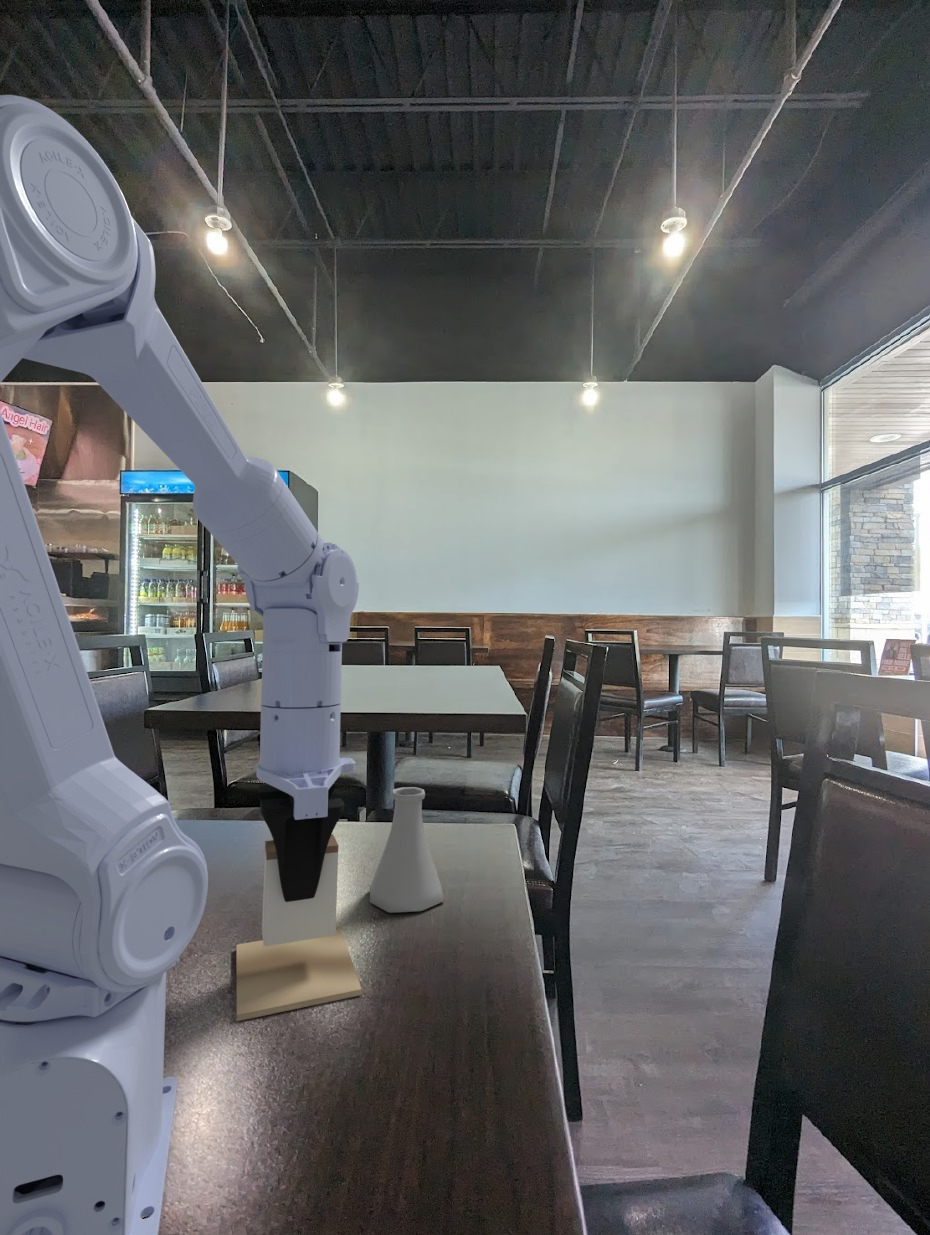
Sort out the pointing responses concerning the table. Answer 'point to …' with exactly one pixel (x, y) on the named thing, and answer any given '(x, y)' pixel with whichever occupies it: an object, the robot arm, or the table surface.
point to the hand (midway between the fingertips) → (297, 889)
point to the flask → (406, 860)
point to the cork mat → (293, 975)
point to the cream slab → (299, 902)
